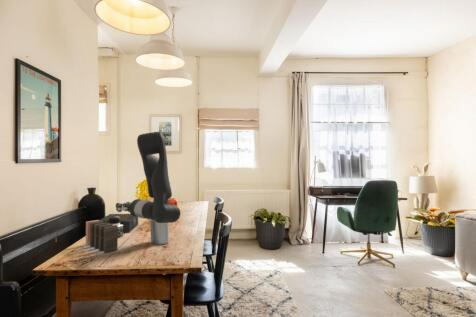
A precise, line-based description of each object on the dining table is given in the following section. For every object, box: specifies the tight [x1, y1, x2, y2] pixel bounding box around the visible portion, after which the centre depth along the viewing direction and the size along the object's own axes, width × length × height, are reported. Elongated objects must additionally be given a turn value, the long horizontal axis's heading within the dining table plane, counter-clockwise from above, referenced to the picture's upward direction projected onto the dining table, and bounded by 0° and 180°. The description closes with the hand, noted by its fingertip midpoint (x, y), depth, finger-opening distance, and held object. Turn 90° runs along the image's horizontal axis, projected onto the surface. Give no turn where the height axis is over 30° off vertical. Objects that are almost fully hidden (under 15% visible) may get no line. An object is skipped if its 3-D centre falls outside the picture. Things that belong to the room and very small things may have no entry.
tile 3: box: [94, 223, 108, 249], centre depth 150 cm, size 2×6×12 cm, turn 140°
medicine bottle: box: [109, 217, 124, 239], centre depth 171 cm, size 7×7×12 cm
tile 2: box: [99, 224, 113, 251], centre depth 147 cm, size 2×6×12 cm, turn 140°
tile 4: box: [90, 221, 103, 248], centre depth 153 cm, size 2×6×12 cm, turn 140°
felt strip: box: [80, 243, 123, 256], centre depth 150 cm, size 24×10×1 cm, turn 50°
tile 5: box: [85, 219, 100, 246], centre depth 156 cm, size 2×6×12 cm, turn 140°
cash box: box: [98, 213, 139, 234], centre depth 194 cm, size 25×20×8 cm
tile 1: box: [104, 225, 119, 253], centre depth 144 cm, size 2×6×12 cm, turn 140°
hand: (121, 204), depth 137 cm, fingers open, 4 cm apart
